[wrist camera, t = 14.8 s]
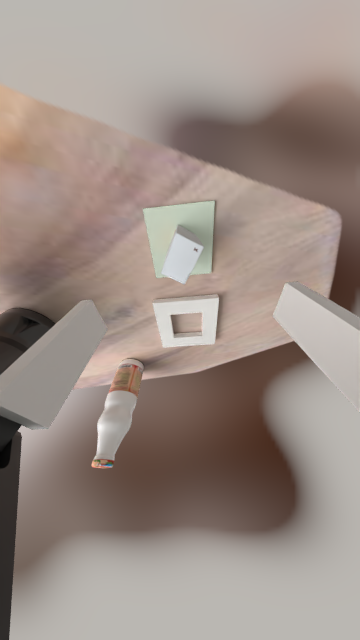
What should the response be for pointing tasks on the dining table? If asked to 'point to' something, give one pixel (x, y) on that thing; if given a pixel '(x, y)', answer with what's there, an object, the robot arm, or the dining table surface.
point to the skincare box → (182, 255)
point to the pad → (189, 217)
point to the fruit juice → (117, 411)
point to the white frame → (184, 306)
